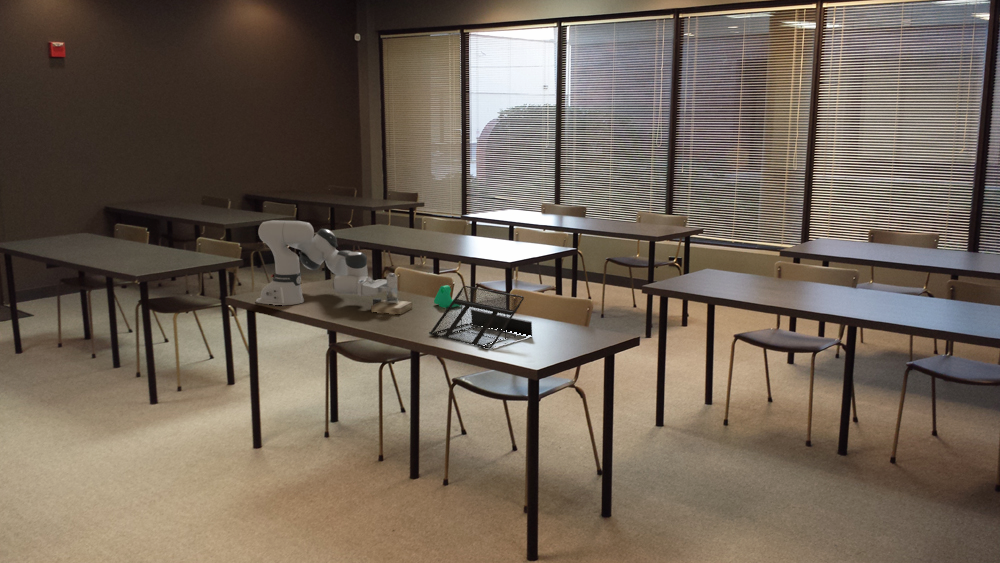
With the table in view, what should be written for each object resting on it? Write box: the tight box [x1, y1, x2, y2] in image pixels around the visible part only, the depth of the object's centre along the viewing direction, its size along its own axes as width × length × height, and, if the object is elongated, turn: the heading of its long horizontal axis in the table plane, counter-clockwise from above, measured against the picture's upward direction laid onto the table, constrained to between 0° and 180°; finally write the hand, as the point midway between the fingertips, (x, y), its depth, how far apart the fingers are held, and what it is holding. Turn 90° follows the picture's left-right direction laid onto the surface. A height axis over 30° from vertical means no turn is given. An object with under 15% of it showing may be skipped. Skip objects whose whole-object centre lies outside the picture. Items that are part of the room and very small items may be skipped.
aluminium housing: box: [385, 272, 400, 303], centre depth 375 cm, size 6×6×13 cm
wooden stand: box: [371, 299, 413, 315], centre depth 377 cm, size 14×14×3 cm
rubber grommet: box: [372, 297, 382, 305], centre depth 387 cm, size 4×4×3 cm
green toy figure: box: [433, 284, 461, 309], centre depth 387 cm, size 12×8×10 cm, turn 46°
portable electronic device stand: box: [428, 285, 533, 349], centre depth 332 cm, size 33×28×18 cm
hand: (393, 288), depth 375 cm, fingers closed on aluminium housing, 5 cm apart
